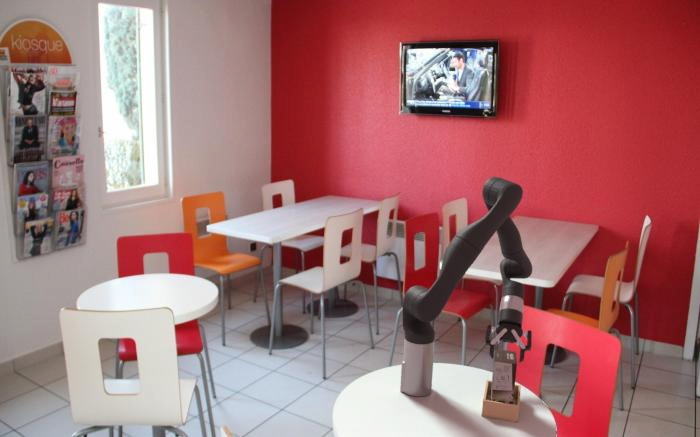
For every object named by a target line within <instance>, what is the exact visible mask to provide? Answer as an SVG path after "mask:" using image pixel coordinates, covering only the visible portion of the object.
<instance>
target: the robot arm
mask: <svg viewBox="0 0 700 437" xmlns="http://www.w3.org/2000/svg"><path fill="white" fill-rule="evenodd" d="M523 193H524V191H523V187H522V186H521V185H520V184H518V183H516V182H514V181H510V180H508V179H506V178H502V177H499V176H492V177H490V178H488V179H487V180H486V181H485V183H484V184H483V187H482V192H481V194H482V199H483V202H484V204H485V207H486V209H487V213H486V214H485V215H484V216H482V217H481V218H479V219H477V220H476V221H474V222H472V223H470V224H468V225H466V226H465V227H463V228H461V229H460V230H459V231H458V232H457V233H456V234H455V235H454V236H453V238H452V239H451V240H450V242H449V243H448V245H447V247H446V248H445V251H444V252H443V258H442V261H441V262H442V263H441V268H440V271H439V274H438V277H437V278H436V280H435V281H434V282H433V284H432V285H431V287H430V288H429V289H428V288H426V287H424V286H421V285H414V286H411V287H410V288H408V289H407V291H405V294H404V297H403V300H402V328H403V332H404V339H403V340H404V342H403V343H404V344H403V357H402V358H403V360H402V362H401V368H400V371H401V372H400V388H399V389H400V392H402V393H405V394H406V395H408V396H412V397H426V396H428V395H430V394H431V393H432V387H433V384H432V383H433V369H434V356H435V354H434V353H435V339H436V331H435V329H434V327H433V326H432V324H431V322H433V321H435V320H436V319H437V318H439V316H440V314H441V313H442V312H443V310H444V309H445V306H446V305H447V303H448V301H449V300H450V298H451V296H452V294H453V293H454V291H455V289H456V288H457V286H458V285H459V283H461V280H462V279H463V278H464V276H465V275H466V273H467V272H468V270H469V269H470V267H471V266H472V265H473V264H474V263H475V261H476V260H477V259H478V258H479V256H480V254H481V252H482V251H483V250H484V248H485V247H486V245H487V244H488V242H490V240H491V239H492V237H493V236H494V235H495V233H496V234H497V238H498V242H499V247H500V250H501V251H500V252H501V254H502V256H503V259H502V260H501V261H500V263H499V270H500V271H499V272H500V276H501V281H502V282H501V283H502V292H501V301H500V303H499V312H498V320H497V326H492V324H488V325H487V327H486V333H485V338H484V344H485V345H486V346H489V357H490V359H494V353H495V349H496V348H495V347H496V346H497V345H498V344H499V343H501V342H503V343H509V344H514V343H515V344H516V345H517V347H518V348H519V351H520V352H519V359H518V363H520V364H521V363H522V362H524V361H525V356H526V355H525V354H526V352H527V351H528V352H530V351H532V338H533V337H532V336H533V332H532V330H527V331H526V330H523V322H524V321H523V320H524V319H523V318H524V317H523V316H524V306H525V305H524V300H525V285H524V284H523V283H522V282H519V281H516V280H513V279H518V280H519V279H528V278H529V277H530V278H531V275H532V273H533V265H532V261H531V260H530V258H529V256H528V255H527V253H526V251H525V250H524V248H523V247H524V246H523V241H522V237H521V233H520V231H519V228H518V227H517V225H516V223H515V222H514V221H513V218H511V215H512V214H513V213H514V212H515V210H516V209H517V208H518V207H519V205H520V203H521V201H522V198H523V195H524V194H523ZM494 332H495V333H496V334H497V335H496V336H495V337H494V338H493V339H492V340H491V334H493V333H494ZM522 336H524V338H525V339H527V340H526V342H527V343H526V345H525V344H524V343H523V341H522V339H521V338H522Z"/></svg>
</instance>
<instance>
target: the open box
mask: <svg viewBox="0 0 700 437" xmlns="http://www.w3.org/2000/svg"><path fill="white" fill-rule="evenodd" d="M491 388H492V380H489V379H486V381H485V387H484V393H483V397H482V408H481V410H482V411H481V417H486V418H490V419H497V420H503V421H507V422H508V421H509V422H514V423H519V414H520V405H521V404H520V403H521V390H522V389H521V388H522V386H521V384H515V388H514V398H513V404H508V403H502V402H496V401H491Z"/></svg>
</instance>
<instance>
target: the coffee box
mask: <svg viewBox="0 0 700 437" xmlns="http://www.w3.org/2000/svg"><path fill="white" fill-rule="evenodd" d="M492 368H493V369H492V377H491V381H492V388H491V401H496V402H502V403H508V404H513V398H514V388H515V385H516V378H517V377H516V376H517V368H518V359H517V351H514V350H513V351H512V350H507V349H505V350H504V349H496V348H495V350H494V358H493V366H492Z"/></svg>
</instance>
